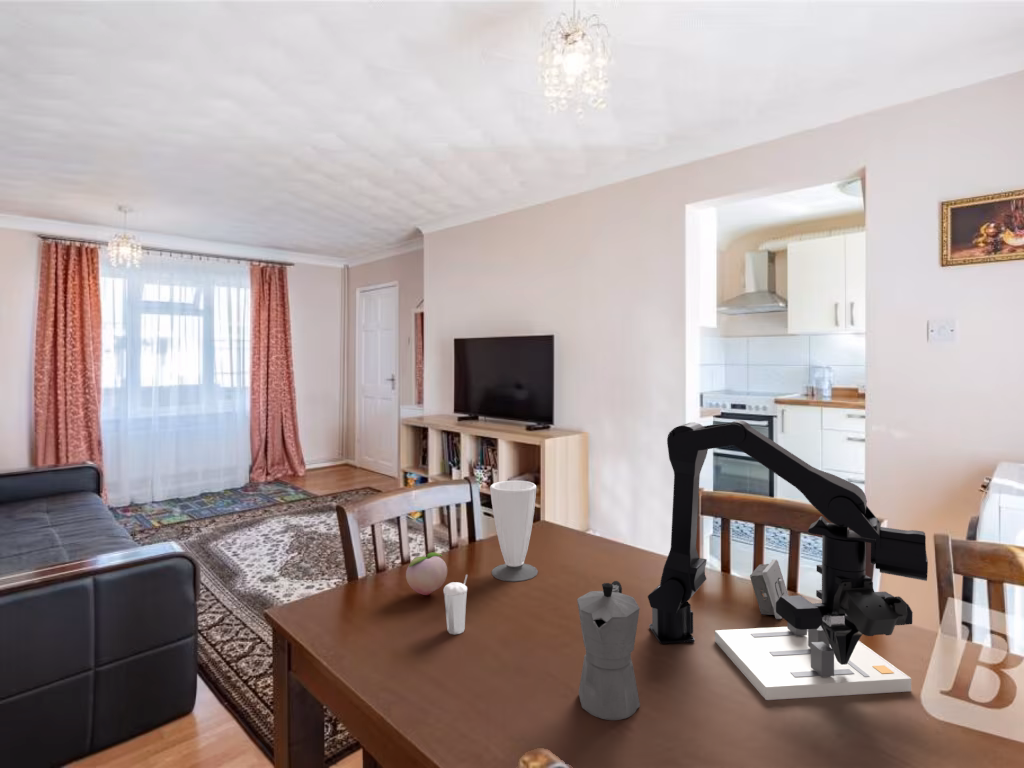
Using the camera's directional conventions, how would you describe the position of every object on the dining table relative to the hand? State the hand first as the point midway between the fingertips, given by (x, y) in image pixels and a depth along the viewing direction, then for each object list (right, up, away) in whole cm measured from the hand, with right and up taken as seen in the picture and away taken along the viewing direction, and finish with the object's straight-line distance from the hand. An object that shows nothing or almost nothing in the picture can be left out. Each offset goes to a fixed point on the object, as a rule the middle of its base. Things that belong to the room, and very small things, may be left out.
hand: (842, 663), depth 82 cm
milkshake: (-62, -4, +19) cm, 65 cm away
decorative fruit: (-70, -4, +35) cm, 79 cm away
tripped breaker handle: (-3, -1, 0) cm, 3 cm away
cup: (-51, -3, +47) cm, 70 cm away
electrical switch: (+1, -3, +26) cm, 26 cm away
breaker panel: (-3, -3, +6) cm, 7 cm away
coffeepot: (-37, -4, -2) cm, 37 cm away
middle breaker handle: (0, -1, +6) cm, 6 cm away
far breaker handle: (-1, -1, +12) cm, 12 cm away
